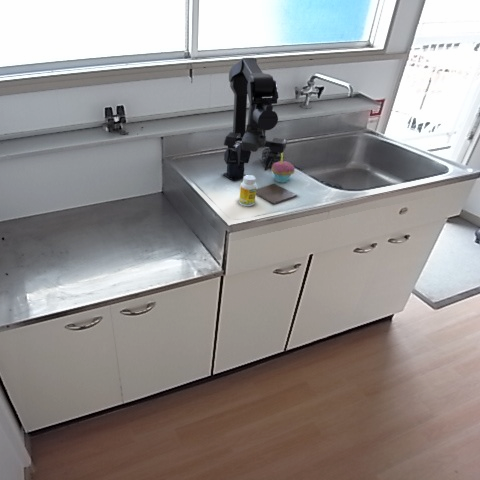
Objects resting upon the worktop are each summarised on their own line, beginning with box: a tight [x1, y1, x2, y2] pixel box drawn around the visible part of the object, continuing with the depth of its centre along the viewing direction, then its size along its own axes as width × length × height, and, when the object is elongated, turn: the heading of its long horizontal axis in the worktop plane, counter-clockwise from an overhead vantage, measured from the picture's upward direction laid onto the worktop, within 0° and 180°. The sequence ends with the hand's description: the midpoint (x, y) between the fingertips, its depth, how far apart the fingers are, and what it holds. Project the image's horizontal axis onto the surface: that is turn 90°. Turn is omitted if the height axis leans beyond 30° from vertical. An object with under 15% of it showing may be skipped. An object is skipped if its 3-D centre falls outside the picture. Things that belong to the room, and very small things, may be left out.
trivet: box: [256, 183, 298, 205], centre depth 140 cm, size 11×11×1 cm
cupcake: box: [270, 152, 296, 183], centre depth 147 cm, size 9×8×12 cm
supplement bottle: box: [238, 174, 258, 207], centre depth 133 cm, size 5×5×10 cm
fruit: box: [260, 147, 284, 168], centre depth 162 cm, size 9×8×15 cm
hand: (251, 167), depth 129 cm, fingers open, 9 cm apart
